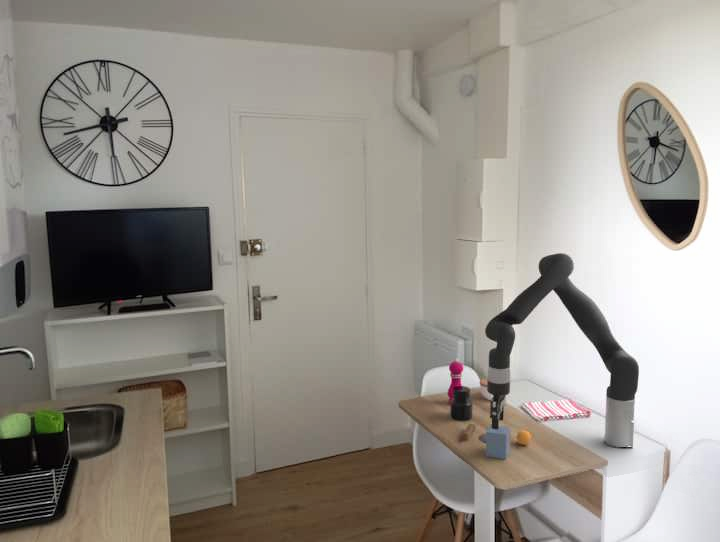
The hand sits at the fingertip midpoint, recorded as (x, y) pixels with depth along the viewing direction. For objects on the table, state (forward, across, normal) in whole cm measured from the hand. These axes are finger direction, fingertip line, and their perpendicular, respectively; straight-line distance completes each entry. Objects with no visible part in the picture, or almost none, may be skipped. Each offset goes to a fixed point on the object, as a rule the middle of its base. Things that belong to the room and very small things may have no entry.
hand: (497, 424), depth 194 cm
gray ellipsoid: (+10, +11, +5) cm, 16 cm away
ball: (+8, +11, -7) cm, 15 cm away
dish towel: (+11, +47, -14) cm, 50 cm away
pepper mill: (+11, +41, +26) cm, 49 cm away
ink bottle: (+11, +27, +20) cm, 35 cm away
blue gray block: (+10, 0, 0) cm, 11 cm away
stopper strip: (+11, +11, +13) cm, 20 cm away
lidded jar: (+11, +53, +13) cm, 55 cm away
